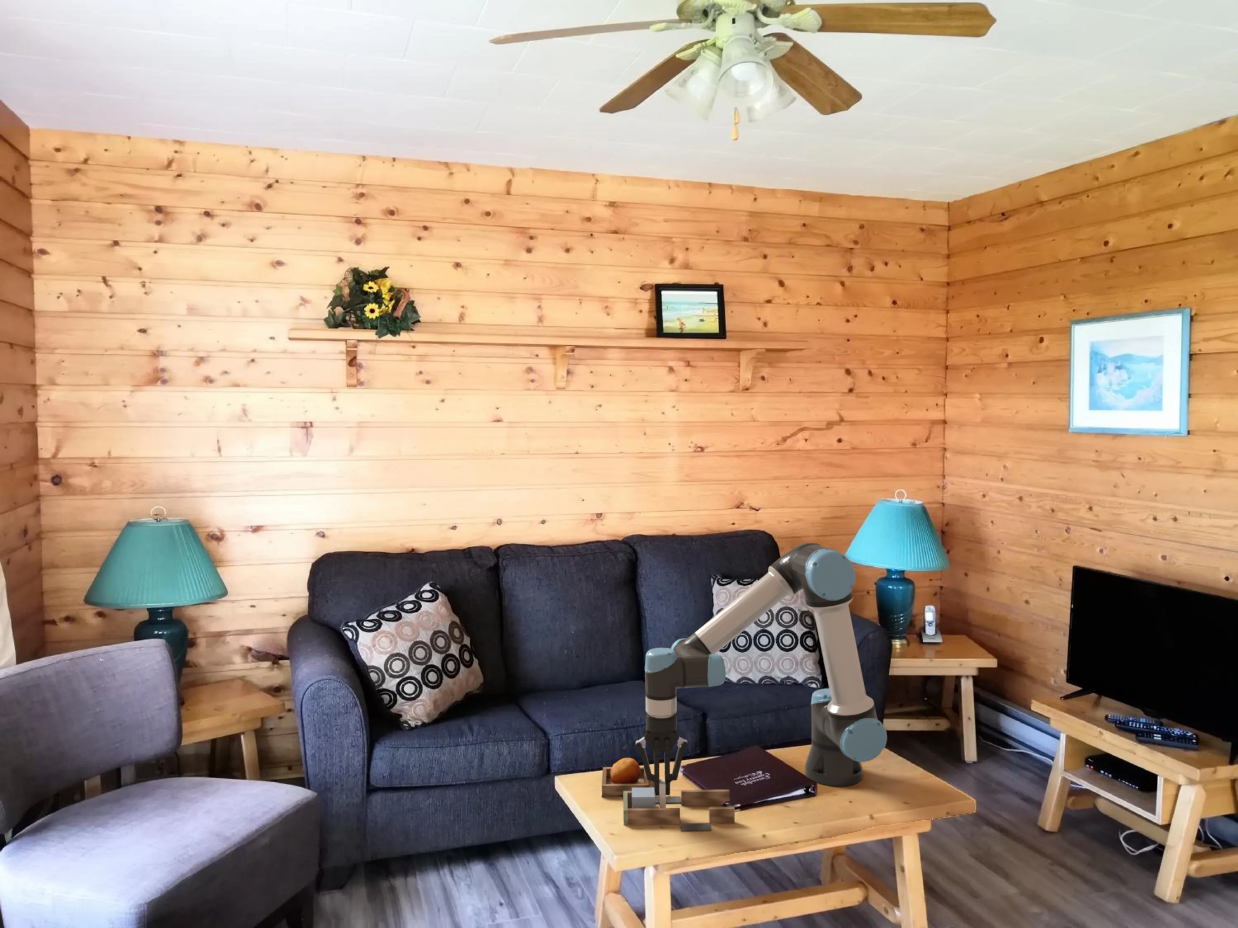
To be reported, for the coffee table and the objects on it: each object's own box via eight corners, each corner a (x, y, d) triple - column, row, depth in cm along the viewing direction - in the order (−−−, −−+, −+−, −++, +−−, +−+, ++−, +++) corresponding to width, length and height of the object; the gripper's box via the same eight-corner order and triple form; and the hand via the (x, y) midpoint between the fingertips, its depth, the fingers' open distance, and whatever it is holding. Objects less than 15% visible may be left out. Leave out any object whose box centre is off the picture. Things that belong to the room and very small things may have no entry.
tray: (647, 777, 244) (647, 766, 244) (648, 796, 232) (648, 784, 232) (603, 777, 244) (602, 766, 244) (602, 796, 232) (601, 785, 232)
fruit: (645, 786, 233) (628, 759, 233) (619, 800, 235) (603, 773, 235) (649, 774, 241) (634, 748, 241) (625, 787, 242) (609, 761, 243)
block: (654, 808, 225) (654, 787, 225) (655, 818, 220) (654, 796, 219) (632, 809, 225) (631, 787, 225) (632, 819, 220) (632, 797, 219)
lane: (727, 796, 231) (727, 783, 231) (736, 830, 213) (736, 815, 213) (623, 797, 232) (623, 784, 231) (623, 831, 213) (623, 817, 213)
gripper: (686, 707, 224) (688, 800, 226) (634, 708, 224) (635, 801, 226) (689, 717, 217) (690, 813, 218) (634, 718, 217) (636, 814, 218)
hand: (662, 807), depth 222 cm, fingers closed
